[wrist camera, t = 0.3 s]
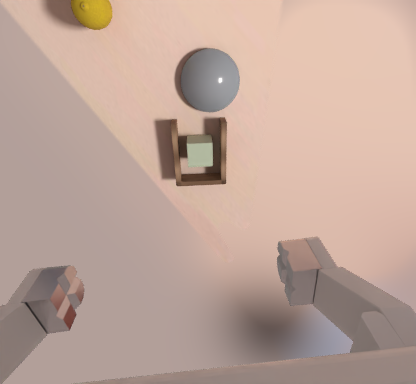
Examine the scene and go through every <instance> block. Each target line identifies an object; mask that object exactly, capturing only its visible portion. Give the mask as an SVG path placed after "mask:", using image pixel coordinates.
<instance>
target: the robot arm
mask: <svg viewBox="0 0 416 384" xmlns="http://www.w3.org/2000/svg"><path fill="white" fill-rule="evenodd" d="M278 252H279V254H280V255H279V256H278V257H277V266H278V272H279V276H280V279H281V282H283V283H284V284H285V293H286V296H287V298H288V301H289V304H290V306H294V305H306V304H313V305H314V306H315V307H316V308H317V309H318V310H319V311H320V312H321V313H323V314H324V315H325V316H326V317H327V318H328V319H329V320H330V321H331V322H333V323H334V324H335V325H336V326H337V327H338V328H339V329H340V330H341V331H343V332H344V333H345V334H346V335H347V336H348V337H349V338H350V339H351V340H352V341H353V344H352V348H351V351H350V353H346V354H337V355H328V356H320V357H310V358H301V359H292V360H282V361H274V362H264V363H256V364H247V365H238V366H228V367H219V368H211V369H201V370H193V371H183V372H174V373H165V374H156V375H147V376H138V377H129V378H120V379H112V380H103V381H93V382H85V383H75V384H416V313H415V312H414V311H413V309H412V308H411V307H410V306H408V305H407V304H405V303H403V302H402V301H400V300H398V299H396V298H395V297H393V296H391V295H390V294H388V293H386V292H384V291H383V290H381V289H379V288H377V287H376V286H374V285H372V284H370V283H369V282H367V281H365V280H364V279H362V278H360V277H358V276H357V275H355V274H353V273H352V272H350V271H348V270H346V269H345V268H343V267H337V266H336V264H335V262H334V261H333V259H332V257H331V256H330V254H329V253H328V251H327V250H326V248H325V246H324V245H323V243H322V242H321V240H320V239H319V238H318V237H311V238H304V239H296V240H288V241H280V242H278ZM76 274H77V271H76V269H75V267H74V266H59V267H48V268H40V269H33V270H31V271H29V273H28V274H27V276H26V277H25V279H24V280H23V281H22V283H21V284H20V286H19V287H18V289H17V290H16V291H15V293H14V294H13V296H12V297H11V299H10V300H9V302H8V303H7V304H6V305H2V306H0V384H2V383H3V382H4V381H5V380H6V379H7V378H8V377H9V375H10V374H11V373H12V372H13V371H14V370H15V369H16V368H17V367H18V366H19V365H20V363H22V362H23V360H24V359H25V358H26V357H27V356H28V355H29V354H30V353H31V352H32V351H33V350H34V349H35V348H36V346H38V344H39V343H40V342H41V341H42V340H43V339H44V338H45V337H46V336H47V334H49V333H56V332H62V331H69V330H70V329H71V326H72V324H73V322H74V319H75V317H76V312H75V309H76V308H77V307H78V306H79V305H80V304H81V302H82V300H83V296H84V285H83V283H82V281H81V279H79V278H77V277H76Z"/></svg>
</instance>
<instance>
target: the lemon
mask: <svg viewBox="0 0 416 384" xmlns="http://www.w3.org/2000/svg"><path fill="white" fill-rule="evenodd" d="M71 8H72V11H73V13H74V15H75V17H76V18H77V20H78V21H79V22H80V23H81V24H83V25H84V26H85V27H87V28H89V29H94V30H100V29H103V28H105V27H106V26H108V24H109V23H110V21H111V18H112V7H111V4H110V2H109V0H71Z"/></svg>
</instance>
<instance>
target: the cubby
mask: <svg viewBox="0 0 416 384" xmlns="http://www.w3.org/2000/svg"><path fill="white" fill-rule="evenodd" d="M171 134H172V144H173V154H174V165H175V175H176V185H177V186H193V185H214V184H226V138H227V122H226V119H225V118H220V173H207V174H185V175H181V164H180V152H179V140H178V128H177V119H174V120H172V121H171Z"/></svg>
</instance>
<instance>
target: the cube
mask: <svg viewBox="0 0 416 384" xmlns="http://www.w3.org/2000/svg"><path fill="white" fill-rule="evenodd" d="M187 154H188V167H205V166H213V146H212V138H211V135H190V136H187Z"/></svg>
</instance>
